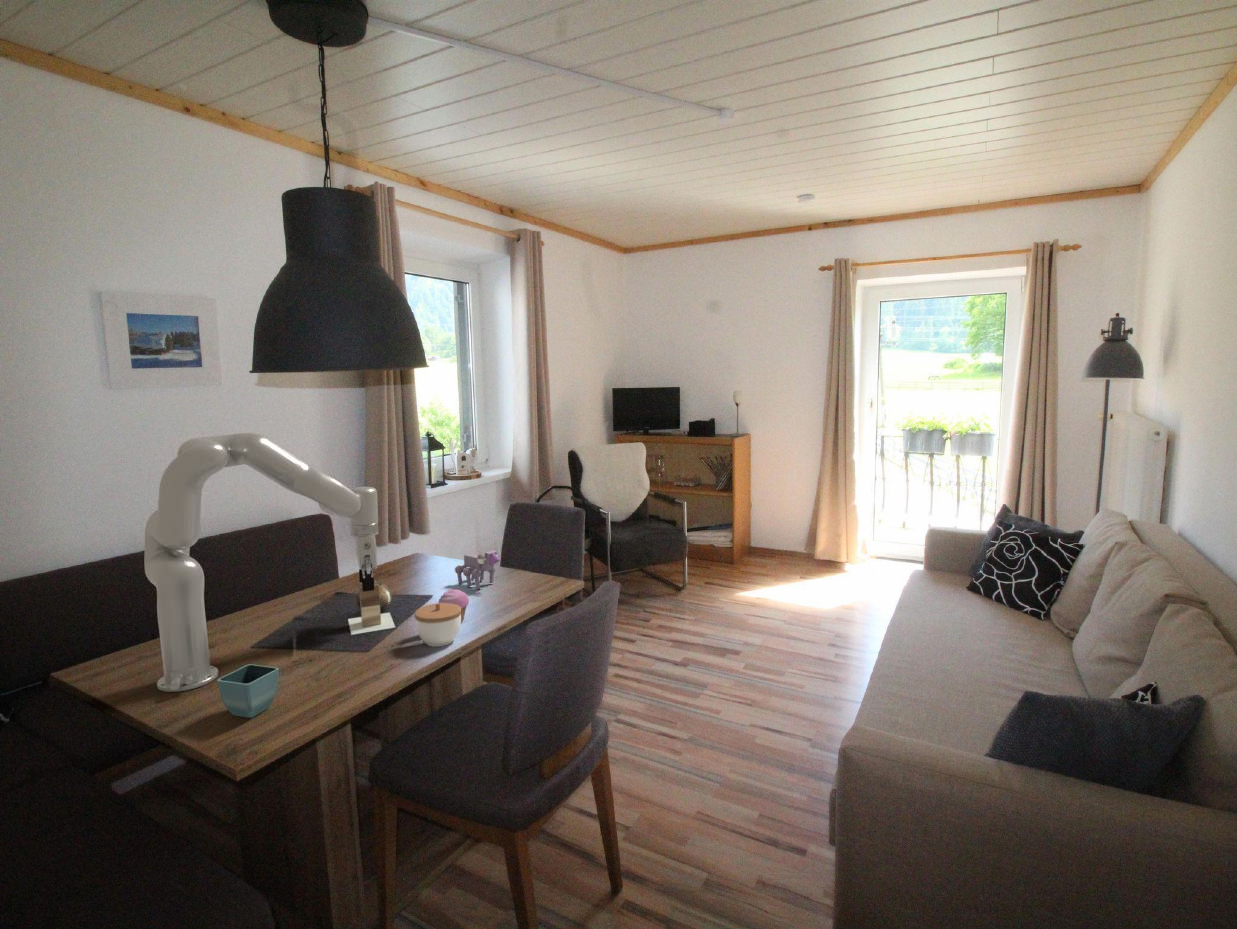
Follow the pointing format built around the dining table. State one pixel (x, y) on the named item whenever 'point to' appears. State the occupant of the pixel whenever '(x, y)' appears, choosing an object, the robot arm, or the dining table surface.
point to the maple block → (370, 615)
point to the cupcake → (456, 600)
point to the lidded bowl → (438, 623)
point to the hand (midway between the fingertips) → (366, 586)
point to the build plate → (358, 628)
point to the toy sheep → (478, 567)
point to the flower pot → (249, 689)
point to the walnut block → (369, 596)
